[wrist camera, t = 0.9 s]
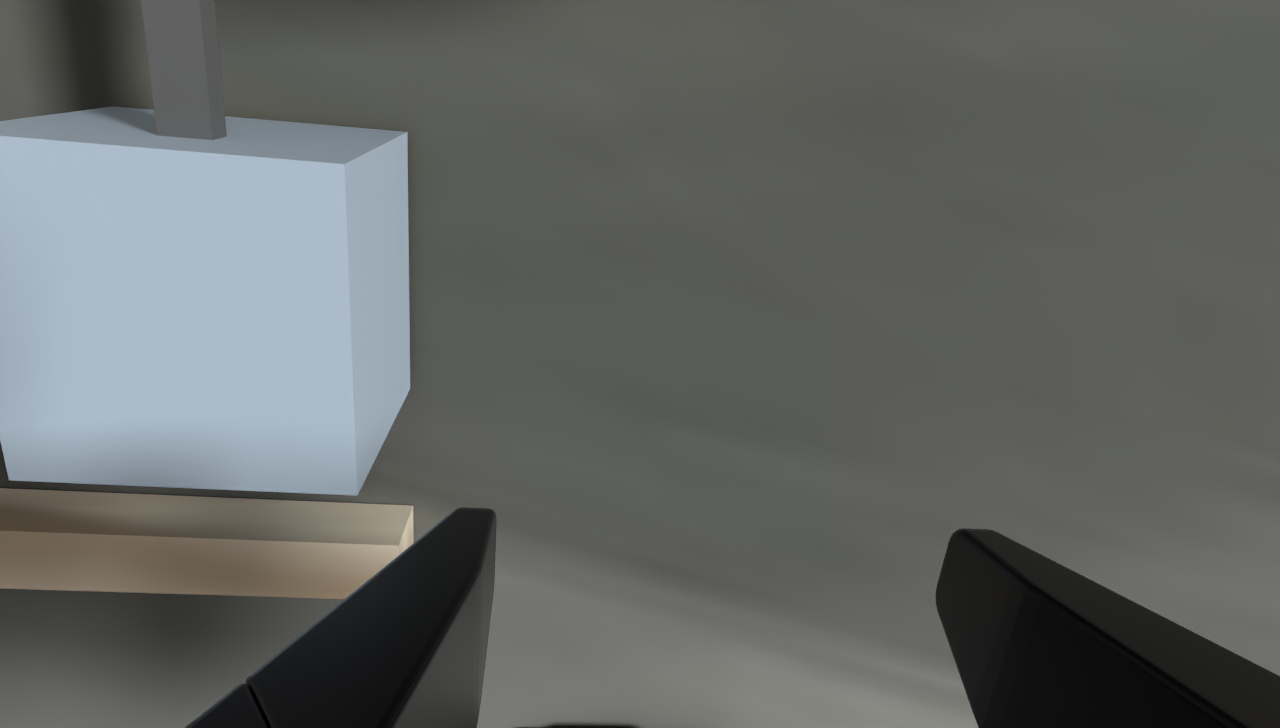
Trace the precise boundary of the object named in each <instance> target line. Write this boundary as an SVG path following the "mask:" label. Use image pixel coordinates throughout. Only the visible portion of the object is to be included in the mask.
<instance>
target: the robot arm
mask: <svg viewBox="0 0 1280 728" xmlns="http://www.w3.org/2000/svg"><path fill="white" fill-rule="evenodd" d="M495 549H496V514H495V512H494V511H493V510H492V509H485V508H457V509H455V510H454V511H453V512H451V513H450V514H449V515H448V516H446V517H445V518H444V519H443V520H442V521H440V522H439V523H438V524H437V525H435V526H434V527H433V528H432V529H430V530H429V531H428V532H427V533H425V534H424V535H423V536H422V537H421V538H419V539H418V540H417V541H416V542H414V543H413V544H412V545H411V546H409V547H408V548H407V549H406V550H405V551H403V552H402V553H401V554H400V555H398V556H397V557H396V558H395V559H393V560H392V561H391V562H390V563H389V564H387V565H386V566H385V567H384V568H382V569H381V570H380V571H379V572H377V573H376V574H375V575H374V576H373V577H371V578H370V579H369V580H368V581H366V582H365V583H364V584H363V585H361V586H360V587H359V588H358V589H357V590H355V591H354V592H353V593H352V594H350V595H349V596H348V597H347V598H345V599H344V600H343V601H342V602H340V603H339V604H338V605H337V606H336V607H334V608H333V609H332V610H331V611H329V612H328V613H327V614H326V615H324V616H323V617H322V618H321V619H320V620H318V621H317V622H316V623H315V624H313V625H312V626H311V627H310V628H308V629H307V630H306V631H305V632H304V633H302V634H301V635H300V636H299V637H297V638H296V639H295V640H294V641H292V642H291V643H290V644H289V645H288V646H286V647H285V648H284V649H283V650H281V651H280V652H279V653H278V654H276V655H275V656H274V657H273V658H272V659H270V660H269V661H268V662H267V663H265V664H264V665H263V666H262V667H260V668H259V669H258V670H257V671H255V672H254V673H253V674H252V675H251V676H249V677H248V678H247V680H246V684H245V683H241V684H239V685H238V686H237V687H235V688H234V689H233V690H232V691H230V692H229V693H228V694H227V695H225V696H224V697H223V698H222V699H220V700H219V701H218V702H217V703H216V704H214V705H213V706H212V707H211V708H209V709H208V710H207V711H206V712H204V713H203V714H202V715H200V716H199V717H198V718H196V719H195V720H194V721H193V722H191V723H190V724H189V725H187V726H186V727H185V728H476V727H477V722H478V716H479V709H480V703H481V695H482V686H483V678H484V669H485V661H486V652H487V643H488V635H489V626H490V618H491V609H492V601H493V591H494V578H495ZM936 605H937V610H938V614H939V617H940V619H941V622H942V625H943V628H944V631H945V634H946V637H947V639H948V642H949V645H950V648H951V651H952V654H953V657H954V660H955V662H956V665H957V668H958V671H959V674H960V677H961V680H962V682H963V685H964V688H965V691H966V694H967V697H968V700H969V702H970V705H971V708H972V711H973V714H974V716H975V719H976V721H977V724H978V727H979V728H1280V676H1278V675H1276V674H1274V673H1272V672H1270V671H1268V670H1266V669H1265V668H1263V667H1261V666H1259V665H1257V664H1255V663H1253V662H1251V661H1249V660H1247V659H1245V658H1243V657H1241V656H1239V655H1237V654H1235V653H1233V652H1231V651H1229V650H1227V649H1225V648H1223V647H1221V646H1219V645H1217V644H1215V643H1213V642H1211V641H1210V640H1208V639H1206V638H1204V637H1202V636H1200V635H1198V634H1196V633H1194V632H1192V631H1190V630H1188V629H1186V628H1184V627H1182V626H1180V625H1178V624H1176V623H1174V622H1172V621H1170V620H1168V619H1166V618H1164V617H1162V616H1160V615H1158V614H1157V613H1155V612H1153V611H1151V610H1149V609H1147V608H1145V607H1143V606H1141V605H1139V604H1137V603H1135V602H1133V601H1131V600H1129V599H1127V598H1125V597H1123V596H1121V595H1119V594H1117V593H1115V592H1113V591H1111V590H1109V589H1107V588H1105V587H1104V586H1102V585H1100V584H1098V583H1096V582H1094V581H1092V580H1090V579H1088V578H1086V577H1084V576H1082V575H1080V574H1078V573H1076V572H1074V571H1072V570H1070V569H1068V568H1066V567H1064V566H1062V565H1060V564H1058V563H1056V562H1054V561H1052V560H1051V559H1049V558H1047V557H1045V556H1043V555H1041V554H1039V553H1037V552H1035V551H1033V550H1031V549H1029V548H1027V547H1025V546H1023V545H1021V544H1019V543H1017V542H1015V541H1013V540H1011V539H1009V538H1007V537H1005V536H1003V535H1001V534H999V533H997V532H995V531H993V530H987V529H959V530H957V531H956V532H954V533H953V534H952V536H951V538H950V540H949V543H948V547H947V550H946V554H945V558H944V562H943V565H942V569H941V573H940V577H939V580H938V584H937V589H936Z"/></svg>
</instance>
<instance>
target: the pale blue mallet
mask: <svg viewBox="0 0 1280 728" xmlns="http://www.w3.org/2000/svg"><path fill="white" fill-rule="evenodd" d="M141 6H142V14H143V22H144V31H145V39H146V47H147V56H148V64H149V72H150V81H151V89H152V97H153V106H154V110H147V109H135V108H124V107H104V108H97V109H89V110H82V111H74V112H67V113H59V114H52V115H44V116H37V117H29V118H22V119H14V120H7V121H0V441H1V446H2V451H3V455H4V460H5V465H6V469H7V474H8V478H9V480H10V481H33V482H56V483H79V484H102V485H125V486H148V487H171V488H195V489H218V490H241V491H264V492H287V493H310V494H333V495H356V496H357V495H358V493H359V491H360V489H361V487H362V485H363V483H364V481H365V479H366V477H367V475H368V473H369V471H370V469H371V467H372V465H373V463H374V461H375V459H376V457H377V455H378V453H379V451H380V449H381V447H382V445H383V443H384V441H385V439H386V437H387V435H388V432H389V430H390V428H391V426H392V424H393V422H394V420H395V418H396V416H397V414H398V412H399V410H400V408H401V406H402V404H403V402H404V400H405V398H406V396H407V394H408V392H409V390H410V322H409V235H408V148H407V132H401V131H389V130H378V129H366V128H355V127H343V126H332V125H320V124H309V123H297V122H285V121H274V120H262V119H251V118H239V117H228V116H225V110H224V99H223V87H222V76H221V65H220V54H219V43H218V32H217V21H216V9H215V0H141Z"/></svg>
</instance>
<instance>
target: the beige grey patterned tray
mask: <svg viewBox="0 0 1280 728" xmlns="http://www.w3.org/2000/svg"><path fill="white" fill-rule="evenodd" d="M413 543H414V540H413V506H410V505H387V504H363V503H339V502H316V501H292V500H269V499H245V498H221V497H198V496H174V495H151V494H127V493H103V492H80V491H56V490H32V489H9V488H0V588H2V589H34V590H67V591H99V592H131V593H163V594H196V595H228V596H260V597H292V598H325V599H345V598H347V597H348V596H349V595H350V594H352V593H353V592H354V591H355V590H357V589H358V588H359V587H360V586H361V585H363V584H364V583H365V582H366V581H368V580H369V579H370V578H371V577H373V576H374V575H375V574H376V573H377V572H379V571H380V570H381V569H382V568H384V567H385V566H386V565H387V564H389V563H390V562H391V561H392V560H393V559H395V558H396V557H397V556H398V555H400V554H401V553H402V552H403V551H405V550H406V549H407V548H408V547H409V546H411V545H412V544H413Z"/></svg>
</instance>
